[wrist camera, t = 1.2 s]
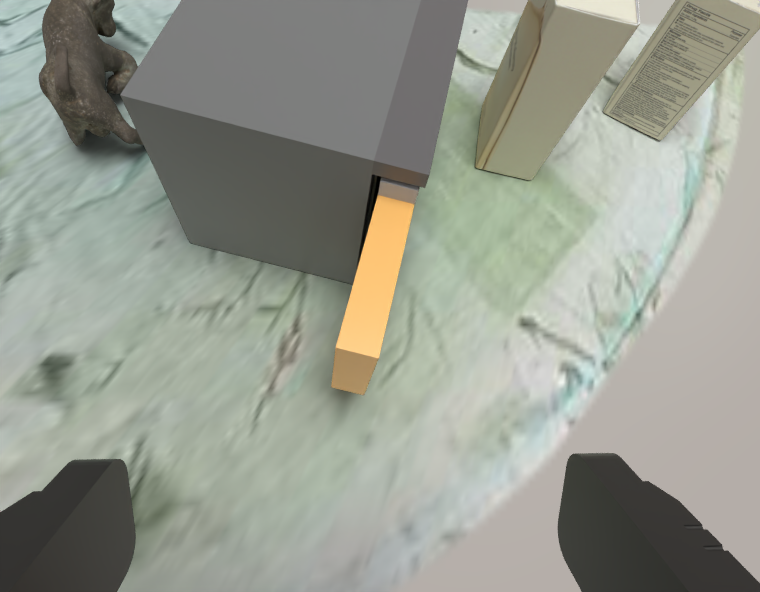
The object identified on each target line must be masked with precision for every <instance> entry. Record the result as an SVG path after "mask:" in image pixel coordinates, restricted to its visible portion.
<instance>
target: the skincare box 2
mask: <svg viewBox="0 0 760 592" xmlns="http://www.w3.org/2000/svg"><path fill="white" fill-rule="evenodd" d="M759 29H760V0H675V2H674V3H673V5H672V6H671V8H670V9H669V11H668V12H667V14H666V15H665V17H664V18H663V20H662V21H661V23H660V24H659V25H658V27H657V28H656V30H655V31H654V33H653V34H652V36H651V37H650V39H649V40H648V42H647V43H646V45H645V46H644V48H643V49H642V51H641V52H640V54H639V56H638V57H637V58H636V60H635V61H634V63H633V64H632V66H631V67H630V69H629V70H628V72H627V73H626V75H625V76H624V78H623V79H622V81H621V82H620V84H619V85H618V87H617V88H616V90H615V91H614V93H613V95H612V96H611V98H610V99H609V101H608V103H607V105H606V106H605V108H604V110H603V112H604V113H605V114H607V115H609V116H611V117H613V118H615V119H617V120H618V121H620V122H622V123H625V124H627V125H629V126H631V127H633V128H635V129H637V130H639V131H641V132H643V133H645V134H647V135H649V136H651V137H654V138H656V139H658V140H662V139H663V138H664V137H665V136H666V135H667V134H668V132H669V131H670V130H671V129H672V128H673V127H674V126H675V125H676V123H677V122H678V121H679V120H680V119H681V118H682V117H683V115H684V114H685V113H686V112H687V111H688V110H689V109H690V108H691V106H692V105H693V104H694V103H695V102H696V101H697V99H698V98H699V97H700V96H701V95H702V94H703V93H704V92H705V91H706V89H707V88H708V87H709V86H710V85H711V84H712V83H713V81H714V80H715V79H716V78H717V77H718V76H719V74H720V73H721V72H722V71H723V70H724V69H725V68H726V66H727V65H728V64H729V63H730V62H731V61H732V60H733V59H734V57H735V56H736V55H737V54H738V53H739V52H740V51H741V49H742V48H743V47H744V46H745V45H746V44H747V43H748V41H749V40H750V39H751V38H752V37H753V36H754V34H755V33H756V32H757V31H758V30H759Z"/></svg>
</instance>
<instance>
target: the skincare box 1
mask: <svg viewBox="0 0 760 592" xmlns="http://www.w3.org/2000/svg"><path fill="white" fill-rule="evenodd" d="M639 25H640V15H639V1H638V0H528V2H527V5H526V7H525V9H524V11H523V14H522V16H521V18H520V21H519V23H518V25H517V28H516V30H515V32H514V34H513V37H512V39H511V41H510V44H509V46H508V48H507V50H506V53H505V55H504V57H503V59H502V62H501V64H500V66H499V69H498V71H497V73H496V75H495V78H494V80H493V82H492V85H491V87H490V89H489V91H488V94H487V96H486V98H485V101H484V103H483V105H482V111H481V118H480V126H479V134H478V143H477V152H476V162H475V167H476V168H478V169H483V170H487V171H491V172H495V173H499V174H504V175H508V176H512V177H517V178H521V179H525V180H532V179H533V178H534V176H535V175H536V173H537V172H538V170H539V169H540V168H541V166H542V165H543V163H544V162H545V160H546V159H547V157H548V156H549V155H550V153H551V152H552V150H553V149H554V147H555V146H556V144H557V143H558V142H559V140H560V139H561V137H562V136H563V134H564V133H565V131H566V130H567V129H568V127H569V126H570V124H571V123H572V121H573V120H574V118H575V117H576V116H577V114H578V113H579V111H580V110H581V108H582V107H583V105H584V104H585V103H586V101H587V100H588V98H589V97H590V95H591V94H592V92H593V91H594V90H595V88H596V87H597V85H598V84H599V82H600V81H601V79H602V78H603V76H604V75H605V74H606V72H607V71H608V69H609V68H610V66H611V65H612V64H613V62H614V61H615V59H616V58H617V56H618V55H619V54H620V52H621V51H622V49H623V48H624V46H625V45H626V43H627V42H628V40H629V39H630V38H631V36H632V35H633V33H634V32H635V30H636V29H637V27H638V26H639Z"/></svg>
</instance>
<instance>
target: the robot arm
mask: <svg viewBox="0 0 760 592" xmlns="http://www.w3.org/2000/svg"><path fill="white" fill-rule="evenodd" d="M558 538H559V543H560V548H561V551H562V554H563V557H564V559H565V561H566V563H567V565H568V567H569V569H570V571H571V573H572V574H573V576H574V578H575V580H576V582H577V583H578V585H579V587H580V589H581V591H582V592H760V583H759V582H758V581H757V580H756V579H755V578H754V577H753V576H752V575H751V574H750V573H749V572H748V571H747V570H746V569H745V568H744V567H743V566H742V565H741V564H740V563H739V562H738V561H737V560H736V559H735V558H734V557H733V555H732V554H731V553H730V552H729V551H724V550H723V548H722V544H721V543H720V542H719V541H718V540H717V539H716V538H715V537H714V536H713V535H712V534H711V533H710V532H709V531H708V530H704V529H703V527H702V524H701V523H700V522H699V521H698V520H697V519H696V518H695V517H694V516H693V515H692V514H691V513H690V512H689V511H688V510H687V509H686V508H685V507H684V506H683V505H682V503H680V501H678V500H677V499H675V498H674V497H672V496H670V495H669V494H667V493H666V492H664V491H663V490H661V489H660V488H658V487H657V486H655V485H653V484H652V483H650V482H649V481H645V482H644V481H642V480H641V479H640V478H639V477H638V476H637V475H636V474H635V472H634V471H632V469H631V468H630V467H629V466H628V465H627V464H626V463H625V462H624V461H623V460H622V458H620V457H619V456H618V455H617V454H614V453H588V454H572V455H571V456H570V457H569V459H568V462H567V466H566V473H565V479H564V486H563V493H562V499H561V506H560V512H559V519H558ZM135 539H136V533H135V524H134V517H133V509H132V502H131V494H130V487H129V480H128V472H127V467H126V465H125V463H124V461H123V460H121V459H91V460H73V461H71V462H69V463H68V464H67V465H66V466H65V467H64V468H63V469H62V470H61V471H60V472H59V473H58V474H57V475H56V477H55V478H54V479H53V480H52V481H51V482H50V483H49V484H48V485H47V486H46V487H45V488H44V489H43V490H42V491H36V492H32V493H30V494H29V495H27V496H26V497H24V498H22V499H21V500H19V501H18V502H16V503H15V504H13V505H11V506H10V507H8V508H7V509H5V510H4V511H2V512H0V592H117V590H118V589H119V587H120V585H121V583H122V581H123V579H124V578H125V576H126V574H127V572H128V569H129V567H130V564H131V561H132V558H133V554H134V548H135Z"/></svg>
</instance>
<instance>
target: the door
mask: <svg viewBox="0 0 760 592" xmlns="http://www.w3.org/2000/svg"><path fill="white" fill-rule="evenodd" d="M418 192H419V186H416V185H412V184H408V183H404V182H400V181H396V180H392V179H388V178H385V177H382V178H381V181H380V187H379V192H378V196H377V200H376V204H375V207H374V211H373V214H372V218H371V222H370V225H369V229H368V233H367V236H366V240H365V243H364V247H363V251H362V254H361V258H360V261H359V265H358V269H357V272H356V276H355V279H354V283H353V287H352V290H351V294H350V298H349V301H348V305H347V308H346V312H345V316H344V319H343V323H342V326H341V330H340V334H339V337H338V341H337V344H336V349H335V358H334V367H333V376H332V385H331V387H332V388H336V389H340V390H344V391H348V392H352V393H356V394H360V395H364V394H365V391H366V389H367V386H368V384H369V381H370V379H371V376H372V374H373V371H374V369H375V366H376V364H377V361H378V359H379V355H380V351H381V346H382V342H383V338H384V333H385V329H386V325H387V321H388V316H389V312H390V308H391V303H392V299H393V295H394V290H395V286H396V282H397V277H398V273H399V269H400V265H401V260H402V256H403V252H404V247H405V243H406V239H407V234H408V230H409V226H410V221H411V217H412V213H413V209H414V204H415V201H416V198H417V195H418Z"/></svg>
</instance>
